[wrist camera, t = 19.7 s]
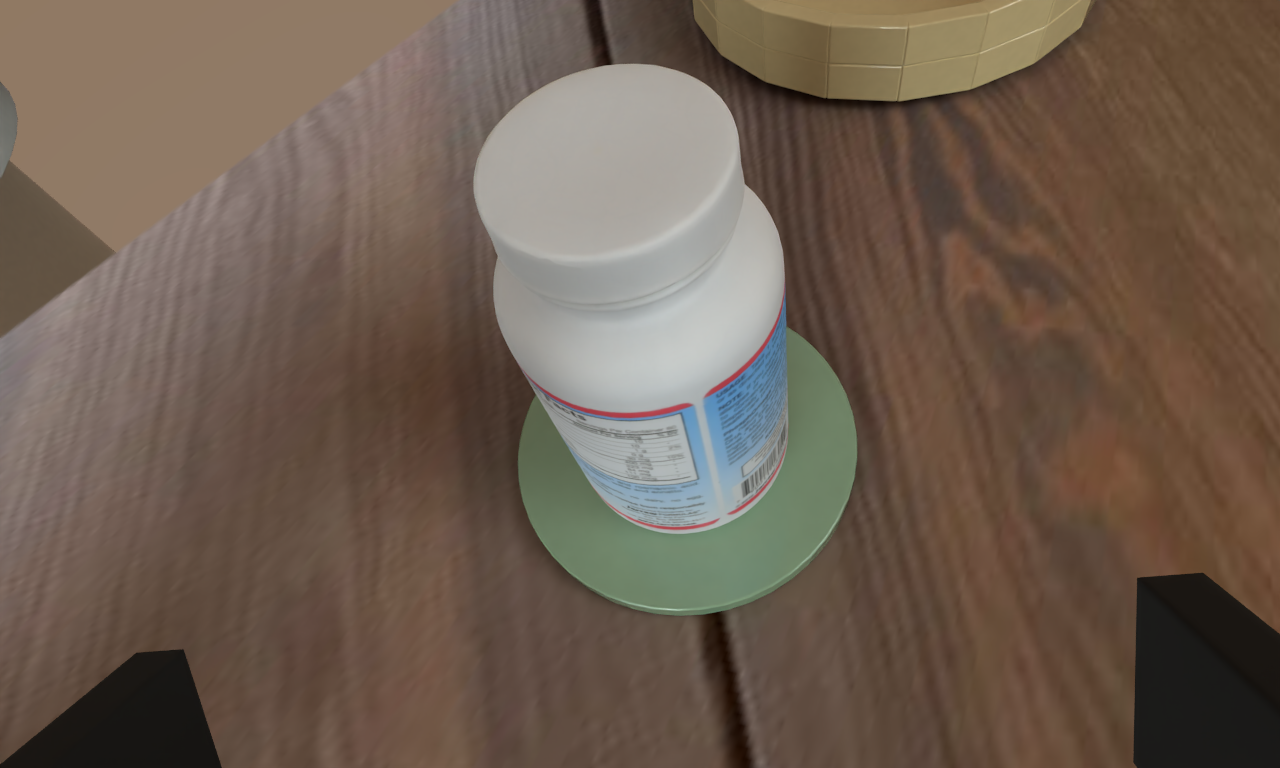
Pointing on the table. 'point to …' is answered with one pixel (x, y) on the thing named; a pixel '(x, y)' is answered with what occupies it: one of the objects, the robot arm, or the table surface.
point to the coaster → (713, 559)
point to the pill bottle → (642, 290)
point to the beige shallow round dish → (886, 42)
